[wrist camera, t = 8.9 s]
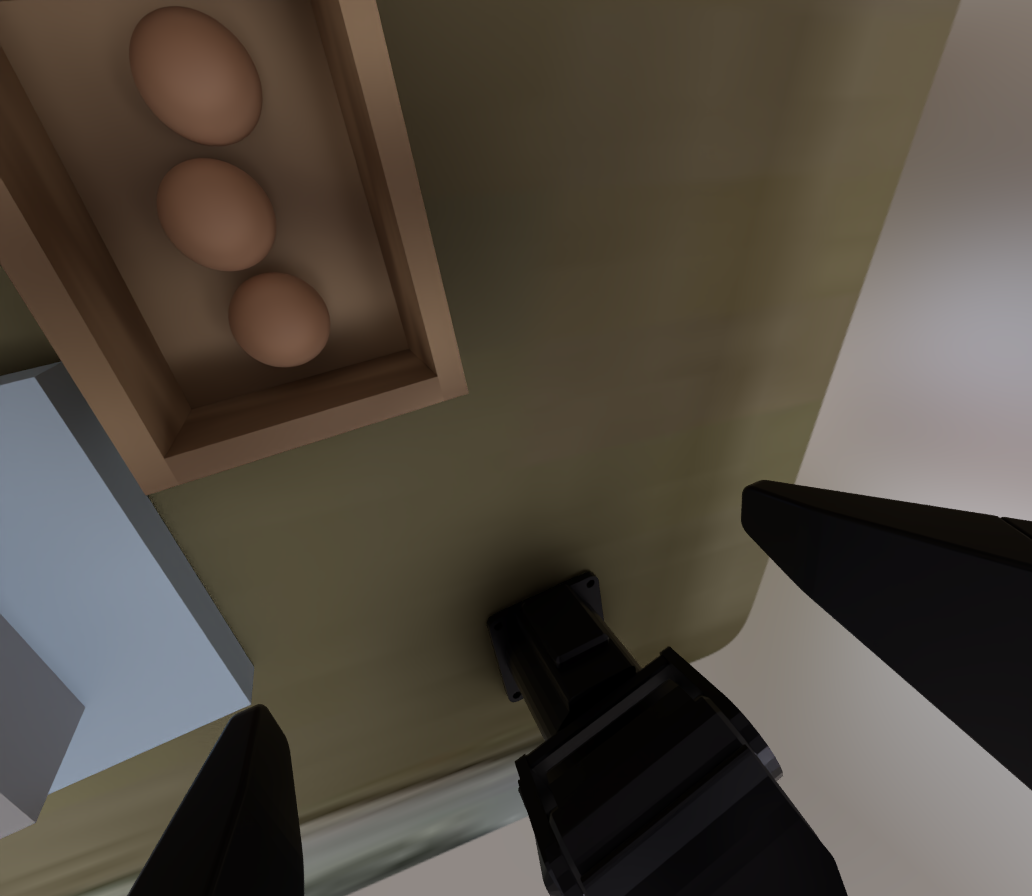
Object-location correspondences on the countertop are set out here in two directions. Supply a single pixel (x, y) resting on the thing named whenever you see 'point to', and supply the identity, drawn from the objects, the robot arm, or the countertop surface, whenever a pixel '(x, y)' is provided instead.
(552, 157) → the countertop surface
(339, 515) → the countertop surface
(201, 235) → the box
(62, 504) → the lid
